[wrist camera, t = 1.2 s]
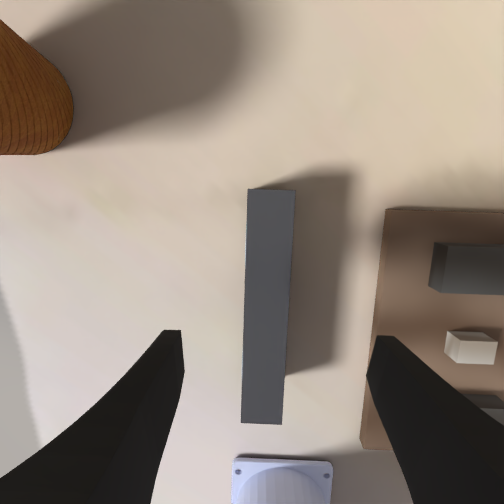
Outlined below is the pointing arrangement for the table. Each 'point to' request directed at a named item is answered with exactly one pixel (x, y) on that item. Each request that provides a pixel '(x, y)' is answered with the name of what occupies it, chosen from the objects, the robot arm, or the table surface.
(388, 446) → the display stand
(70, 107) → the disposable coffee cup
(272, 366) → the long gray beam
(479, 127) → the table surface
